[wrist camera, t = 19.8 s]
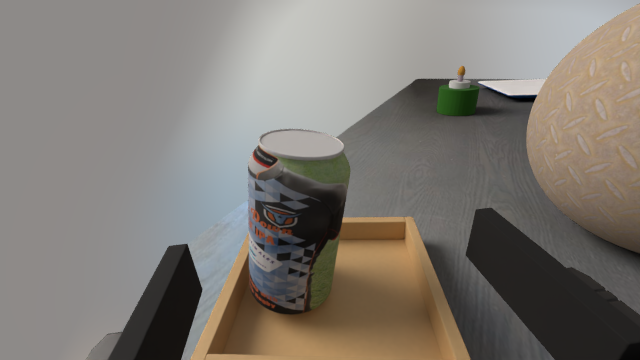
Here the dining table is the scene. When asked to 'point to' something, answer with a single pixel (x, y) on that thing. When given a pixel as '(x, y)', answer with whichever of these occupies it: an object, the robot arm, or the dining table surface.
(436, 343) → the wooden serving tray
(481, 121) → the dining table surface
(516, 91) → the plate
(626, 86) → the decorative sphere
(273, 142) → the beverage can
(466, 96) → the candle
